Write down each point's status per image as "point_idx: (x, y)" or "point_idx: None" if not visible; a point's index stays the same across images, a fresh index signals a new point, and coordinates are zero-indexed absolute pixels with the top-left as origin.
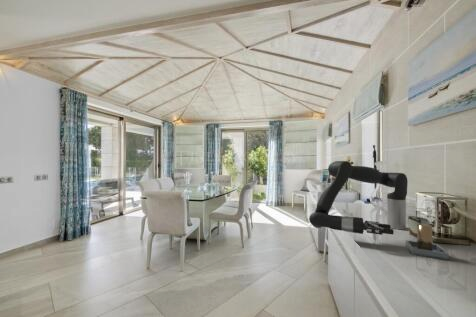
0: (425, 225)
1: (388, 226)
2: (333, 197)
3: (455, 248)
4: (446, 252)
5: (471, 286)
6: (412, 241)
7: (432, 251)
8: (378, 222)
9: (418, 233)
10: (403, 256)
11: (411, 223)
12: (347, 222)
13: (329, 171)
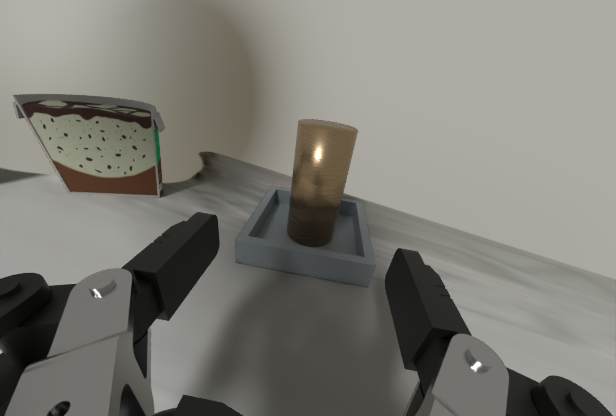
0: (330, 125)
1: (208, 236)
2: None
3: (242, 173)
4: (350, 199)
5: (535, 254)
6: (253, 225)
7: (365, 221)
8: (44, 281)
9: (329, 177)
10: None
11: (65, 137)
12: None
13: None
